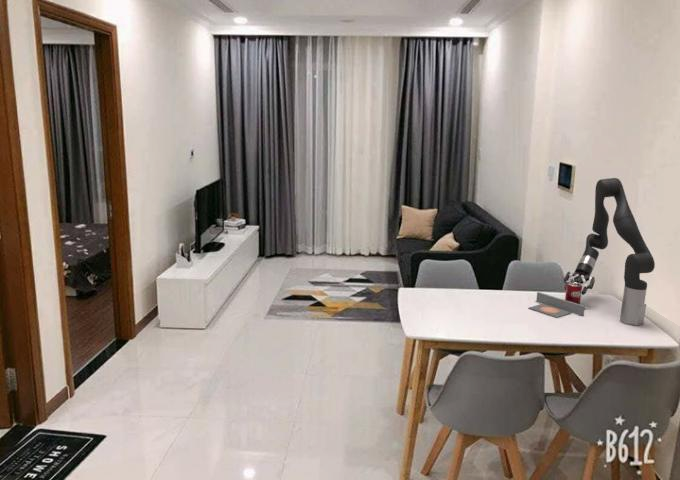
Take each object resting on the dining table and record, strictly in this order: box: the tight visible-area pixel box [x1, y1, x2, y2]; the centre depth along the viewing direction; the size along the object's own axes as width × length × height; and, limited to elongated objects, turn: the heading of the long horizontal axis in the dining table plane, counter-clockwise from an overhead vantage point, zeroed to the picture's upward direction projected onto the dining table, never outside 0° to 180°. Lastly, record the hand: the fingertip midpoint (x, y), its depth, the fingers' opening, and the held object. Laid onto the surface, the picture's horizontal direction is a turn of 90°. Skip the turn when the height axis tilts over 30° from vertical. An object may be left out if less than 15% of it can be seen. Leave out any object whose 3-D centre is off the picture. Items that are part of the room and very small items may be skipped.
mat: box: [528, 303, 572, 319], centre depth 275 cm, size 16×12×1 cm
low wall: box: [535, 291, 586, 317], centre depth 279 cm, size 26×1×5 cm, turn 35°
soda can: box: [564, 282, 583, 305], centre depth 282 cm, size 7×7×12 cm
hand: (574, 292), depth 282 cm, fingers open, 8 cm apart
